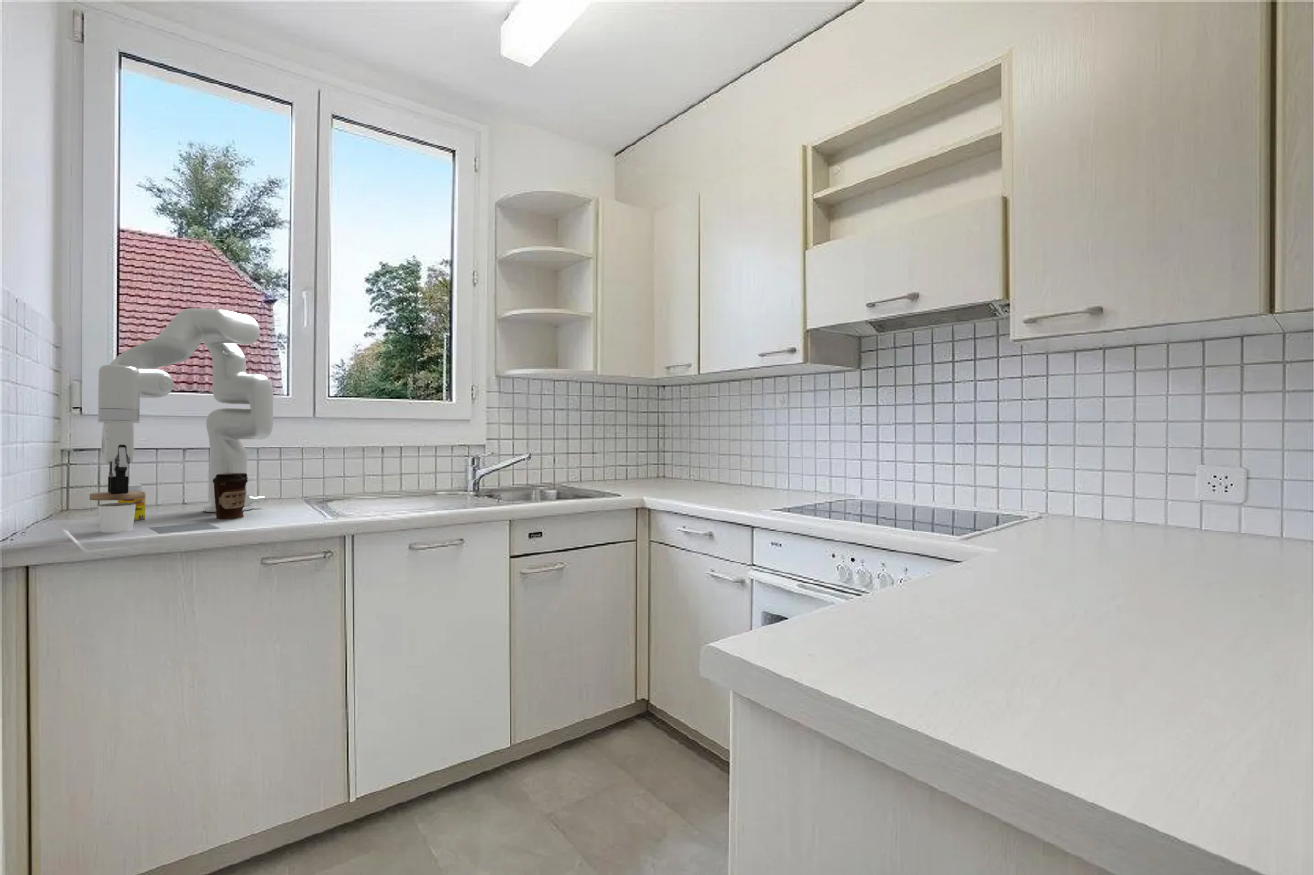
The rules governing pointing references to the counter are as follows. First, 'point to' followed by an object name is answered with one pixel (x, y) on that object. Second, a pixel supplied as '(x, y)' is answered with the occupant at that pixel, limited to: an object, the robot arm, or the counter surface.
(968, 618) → the counter surface
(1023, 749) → the counter surface
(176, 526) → the mat
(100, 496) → the lid
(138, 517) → the supplement bottle
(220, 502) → the coffee cup
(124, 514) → the white cup
